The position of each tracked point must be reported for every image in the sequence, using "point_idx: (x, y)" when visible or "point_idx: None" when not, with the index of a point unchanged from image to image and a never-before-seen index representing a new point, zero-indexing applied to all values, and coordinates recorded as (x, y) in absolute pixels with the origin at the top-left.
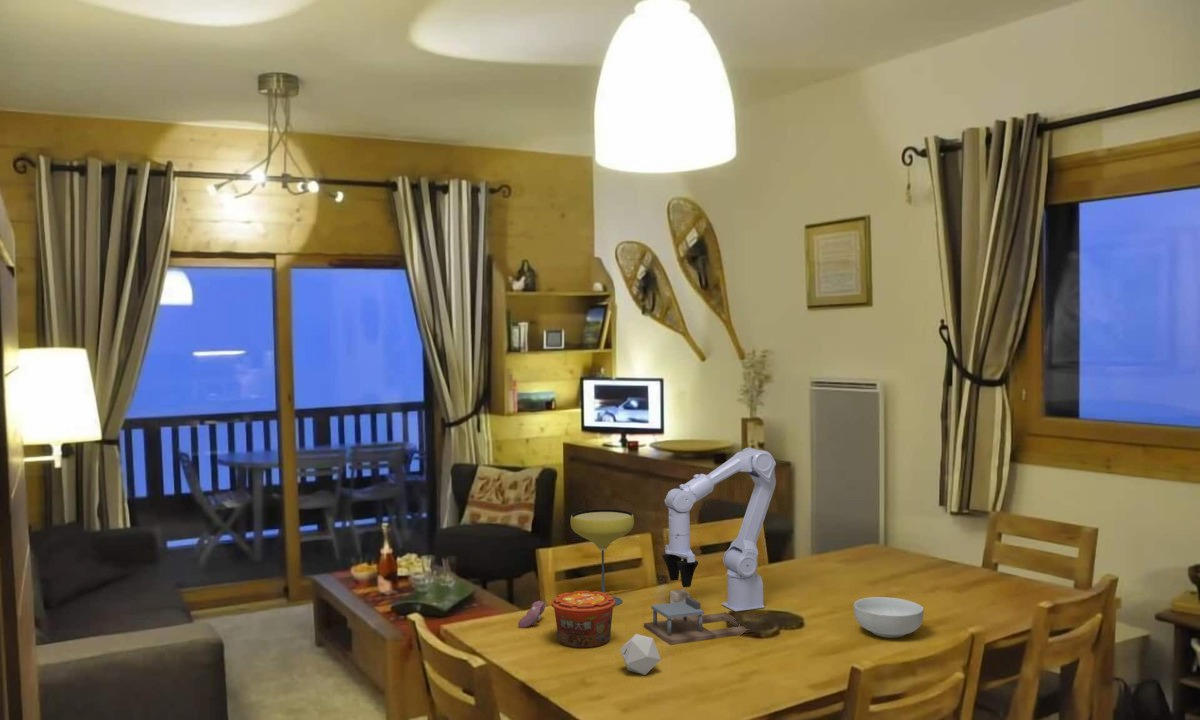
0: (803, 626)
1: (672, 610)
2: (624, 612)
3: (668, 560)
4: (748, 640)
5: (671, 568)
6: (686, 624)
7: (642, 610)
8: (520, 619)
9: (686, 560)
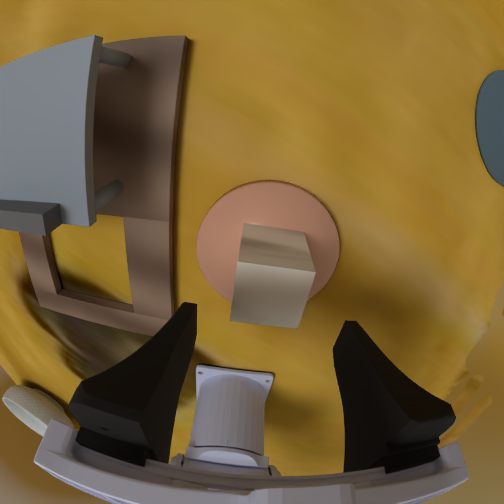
0: (74, 374)
1: (9, 108)
2: (406, 88)
3: (388, 412)
4: (8, 256)
5: (364, 377)
6: (97, 176)
7: (390, 157)
8: None
9: (85, 441)
